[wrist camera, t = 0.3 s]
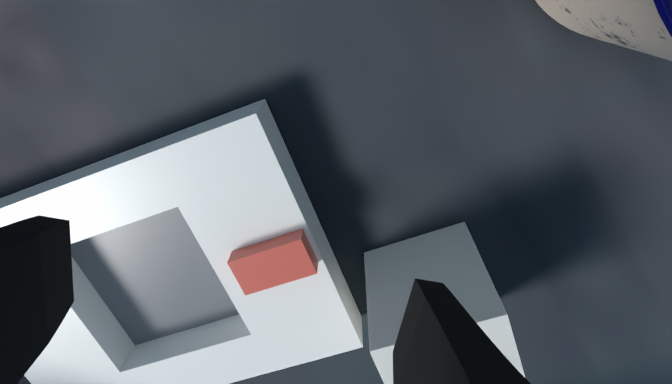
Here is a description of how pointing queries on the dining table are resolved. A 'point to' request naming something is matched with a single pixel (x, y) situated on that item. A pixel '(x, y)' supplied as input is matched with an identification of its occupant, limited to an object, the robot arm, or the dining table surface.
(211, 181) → the socket plate
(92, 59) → the dining table surface
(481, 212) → the dining table surface
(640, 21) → the teacup with lid
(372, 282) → the plug
